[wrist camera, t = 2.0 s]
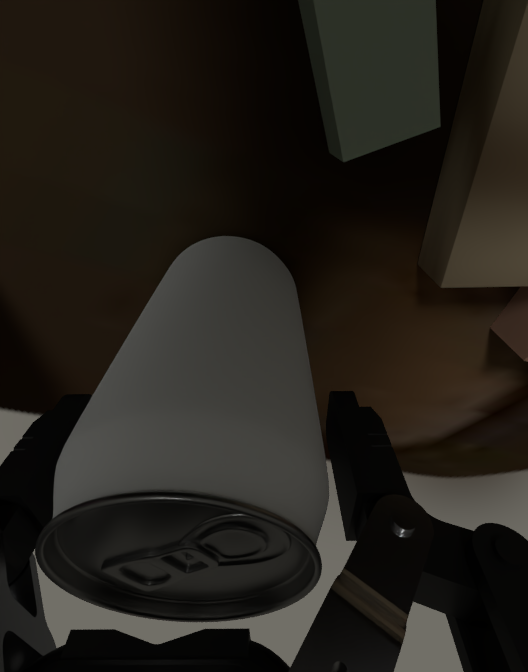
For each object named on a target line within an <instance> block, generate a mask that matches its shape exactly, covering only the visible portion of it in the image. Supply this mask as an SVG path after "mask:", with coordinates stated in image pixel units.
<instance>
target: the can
mask: <svg viewBox="0 0 528 672" xmlns="http://www.w3.org/2000/svg"><path fill="white" fill-rule="evenodd" d="M328 499H329V485H328V473H327V466H326V459H325V452H324V446H323V440H322V434H321V428H320V421H319V416H318V410H317V404H316V398H315V392H314V386H313V380H312V374H311V369H310V363H309V357H308V351H307V346H306V340H305V334H304V329H303V323H302V317H301V312H300V306H299V301H298V295H297V290H296V286H295V283H294V280H293V277H292V275H291V273H290V272H289V270H288V269H287V267H286V266H285V265H284V263H283V262H282V261H281V260H280V259H279V258H278V257H277V256H276V255H275V254H274V253H273V252H272V251H270V250H269V249H268V248H266V247H265V246H263V245H261V244H259V243H257V242H255V241H252V240H249V239H245V238H241V237H234V236H219V237H212V238H208V239H205V240H202V241H199V242H197V243H195V244H193V245H191V246H190V247H188V248H187V249H186V250H184V251H183V252H182V253H181V254H180V255H179V256H178V257H177V258H176V259H175V261H174V262H173V263H172V265H171V266H170V268H169V269H168V271H167V272H166V274H165V276H164V277H163V279H162V280H161V282H160V284H159V285H158V287H157V289H156V290H155V292H154V294H153V295H152V297H151V299H150V300H149V302H148V303H147V305H146V307H145V308H144V310H143V312H142V313H141V315H140V317H139V318H138V320H137V322H136V323H135V325H134V327H133V328H132V330H131V332H130V333H129V335H128V337H127V339H126V340H125V342H124V344H123V345H122V347H121V349H120V350H119V352H118V354H117V355H116V357H115V359H114V360H113V362H112V364H111V365H110V367H109V369H108V370H107V372H106V374H105V376H104V377H103V379H102V381H101V382H100V384H99V386H98V387H97V389H96V391H95V392H94V394H93V396H92V398H91V399H90V401H89V403H88V404H87V406H86V408H85V410H84V411H83V413H82V415H81V416H80V418H79V420H78V422H77V423H76V425H75V427H74V429H73V431H72V432H71V434H70V436H69V438H68V440H67V442H66V443H65V445H64V448H63V450H62V452H61V454H60V457H59V459H58V462H57V465H56V470H55V477H54V493H53V518H52V520H51V521H50V522H49V523H48V524H47V525H46V526H45V527H44V528H43V530H42V531H41V533H40V534H39V537H38V539H37V542H36V546H35V555H36V559H37V562H38V564H39V566H40V568H41V569H42V571H43V572H44V573H45V575H46V576H47V577H48V578H49V579H50V580H51V581H52V582H54V583H55V584H56V585H58V586H59V587H60V588H62V589H63V590H65V591H66V592H68V593H70V594H72V595H74V596H76V597H78V598H80V599H82V600H84V601H86V602H89V603H91V604H94V605H97V606H99V607H102V608H105V609H109V610H112V611H116V612H120V613H124V614H128V615H133V616H138V617H143V618H150V619H157V620H166V621H179V622H218V621H230V620H238V619H245V618H250V617H255V616H260V615H264V614H268V613H271V612H274V611H277V610H280V609H282V608H285V607H287V606H289V605H291V604H293V603H295V602H297V601H299V600H300V599H302V598H303V597H305V596H306V595H307V594H308V593H309V592H310V591H311V590H312V589H313V588H314V587H315V585H316V584H317V582H318V580H319V578H320V575H321V570H322V563H321V558H320V554H319V552H318V549H317V547H316V543H317V539H318V536H319V533H320V530H321V527H322V524H323V520H324V517H325V514H326V510H327V505H328Z"/></svg>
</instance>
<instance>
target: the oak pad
mask: <svg viewBox="0 0 528 672" xmlns="http://www.w3.org/2000/svg"><path fill="white" fill-rule="evenodd" d="M418 265H419V266H420V267H421V268H422V269H423V270H424V271H425V272H426V273H427V274H428V275H429V277H430V278H431V279H432V280H433V281H434V282H435V283H436V284H437V285H438V286H439V287H440V288H462V287H514V286H528V0H483V4H482V8H481V12H480V16H479V20H478V24H477V28H476V32H475V36H474V40H473V44H472V48H471V52H470V56H469V60H468V64H467V68H466V72H465V76H464V80H463V84H462V88H461V92H460V96H459V100H458V104H457V108H456V112H455V116H454V120H453V124H452V128H451V132H450V136H449V140H448V144H447V148H446V152H445V156H444V160H443V164H442V168H441V172H440V176H439V180H438V184H437V188H436V192H435V196H434V200H433V204H432V208H431V212H430V216H429V220H428V224H427V228H426V232H425V236H424V240H423V244H422V248H421V252H420V256H419V260H418Z"/></svg>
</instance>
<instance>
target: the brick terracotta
mask: <svg viewBox="0 0 528 672" xmlns="http://www.w3.org/2000/svg"><path fill="white" fill-rule="evenodd" d="M490 328H491V329H492V330H493V331H494V332H495V333H496V334H497V335H498V336H499V337H500V338H501V339H502V340H503V341H504V342H505V343H506V344H507V345H508V346H509V347H510V348H511V349H512V350H513V351H514V352H515V353H516V354H518V355H519V356H520V357H521V358H522V359H523V360H524V361H527V362H528V286H521V287H520V288H519V289H518V291H517V292H516V293H515V295H514V296H513V297H512V299H511V300H510V301H509V303H508V304H507V306H506V307H505V308H504V310H503V311H502V312H501V314H500V315H499V316H498V318H497V319H496V320H495V322H494V323H493V324H492V326H491V327H490Z"/></svg>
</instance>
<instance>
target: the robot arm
mask: <svg viewBox="0 0 528 672" xmlns="http://www.w3.org/2000/svg"><path fill="white" fill-rule="evenodd" d="M91 398H92V395H90V394H73V395H65V396H63V397H62V398H61V400H60V401H59V402H58V404H57V405H56V407H55V408H54V409H53V411H47V412H46V413H45V414H43V415H42V416H41V417H40V418H38V419H37V420H36V421H34V422H33V423H32V425H31V426H30V427H29V429H28V430H27V431H26V433H25V434H24V435H23V438H22V439H21V440H20V441H19V442H18V443H17V444H16V446H15V447H14V451H11V452H10V454H9V455H8V456H7V458H6V459H5V460H4V462H3V463H2V464H1V466H0V672H394V668H395V665H396V662H397V659H398V656H399V653H400V650H401V646H402V643H403V639H404V636H405V632H406V622H407V618H408V615H409V612H410V609H411V606H412V603H413V602H416V603H419V604H421V605H424V606H427V607H429V608H432V609H434V610H437V611H440V612H442V613H445V614H446V617H447V620H448V623H449V626H450V629H451V633H452V636H453V639H454V642H455V645H456V648H457V652H458V655H459V658H460V661H461V664H462V668H463V671H464V672H528V541H527V540H526V539H525V538H524V537H523V536H521V535H520V534H519V533H517V532H516V531H514V530H512V529H510V528H508V527H506V526H503V525H500V524H495V523H485V524H482V525H480V526H478V527H477V529H475V531H472V530H469V529H465V528H462V527H459V526H455V525H452V524H449V523H445V522H443V521H440V520H438V519H436V518H434V517H432V516H431V515H429V514H428V513H426V511H425V510H424V509H423V508H422V507H421V506H420V505H419V504H418V503H416V502H415V500H414V499H413V497H412V496H411V493H410V491H409V489H408V486H407V484H406V481H405V478H404V476H403V473H402V471H401V468H400V466H399V463H398V460H397V458H396V455H395V453H394V450H393V447H391V442H390V440H389V437H388V436H387V432H386V429H385V427H384V424H383V422H382V419H381V418H380V417H379V416H378V414H377V413H376V412H375V411H374V410H373V409H372V408H371V407H359V405H358V402H357V399H356V396H355V393H354V392H353V391H331V392H330V395H329V403H328V411H327V420H326V436H327V443H328V448H329V453H330V459H331V463H332V469H333V474H334V479H335V484H336V489H337V495H338V500H339V505H340V511H341V516H342V521H343V526H344V531H345V537H346V541H355V540H356V541H357V543H356V545H355V546H354V549H353V550H352V553H351V555H350V557H349V559H348V561H347V563H346V565H345V567H344V569H343V570H342V572H341V574H340V575H338V576H337V578H336V579H335V581H334V583H333V585H332V586H331V588H330V590H329V592H328V594H327V596H326V598H325V600H324V602H323V604H322V606H321V608H320V610H319V612H318V614H317V616H316V618H315V620H314V622H313V624H312V626H311V628H310V630H309V632H308V634H307V636H306V638H305V640H304V642H303V644H302V646H301V648H300V650H299V652H298V654H297V656H296V658H295V660H294V662H293V664H292V666H291V668H290V667H289V666H288V665H287V664H286V663H285V662H284V661H283V660H282V659H281V658H280V657H279V656H278V655H276V654H275V653H274V652H273V651H271V650H270V649H268V648H266V647H264V646H263V645H261V644H259V643H256V642H254V641H251V639H250V632H249V629H204V630H201V631H198V632H195V633H192V634H189V635H186V636H183V637H180V638H177V639H174V640H171V641H168V642H165V643H162V644H158V645H157V644H151V643H149V642H146V641H144V640H141V639H138V638H136V637H133V636H130V635H128V634H125V633H122V632H120V631H117V630H113V629H112V630H71V631H70V634H69V636H68V639H67V642H66V644H65V645H63V646H61V647H59V648H56V645H55V642H54V639H53V637H52V635H51V632H50V630H49V628H48V626H47V623H46V620H45V616H44V610H43V604H42V598H41V592H40V585H39V579H38V573H37V567H36V561H35V557H34V555H33V551H34V549H35V546H36V542H37V539H38V537H39V534H40V533H41V531H42V530H43V528H44V527H45V526H46V525H47V524H48V523H49V522H50V521H51V520H52V518H53V493H54V477H55V470H56V465H57V462H58V459H59V457H60V454H61V452H62V450H63V448H64V445H65V443H66V442H67V440H68V438H69V436H70V434H71V432H72V431H73V429H74V427H75V425H76V423H77V422H78V420H79V418H80V416H81V415H82V413H83V411H84V410H85V408H86V406H87V404H88V403H89V401H90V399H91Z"/></svg>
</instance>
